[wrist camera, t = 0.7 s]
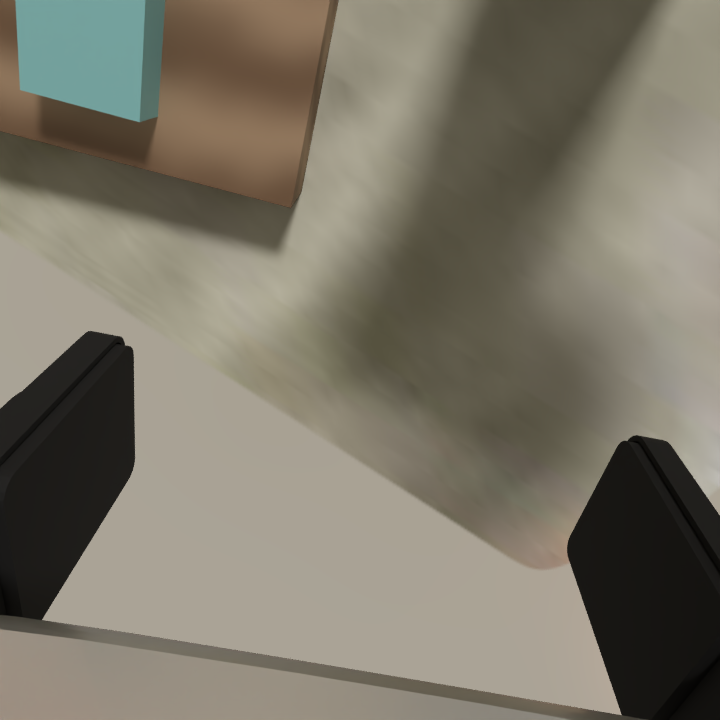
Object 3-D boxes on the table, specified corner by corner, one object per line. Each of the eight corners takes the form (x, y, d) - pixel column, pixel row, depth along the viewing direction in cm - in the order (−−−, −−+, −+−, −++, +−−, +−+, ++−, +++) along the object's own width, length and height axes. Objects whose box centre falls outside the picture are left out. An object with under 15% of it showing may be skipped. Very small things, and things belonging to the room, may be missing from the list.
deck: (-76, -176, 28) (-143, -207, 25) (348, -49, 30) (341, -62, 26) (-47, 99, 34) (-97, 105, 31) (301, 192, 36) (291, 207, 33)
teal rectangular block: (41, -125, 26) (8, -140, 24) (170, -86, 26) (150, -98, 24) (47, 86, 30) (19, 90, 28) (157, 116, 31) (139, 122, 28)
